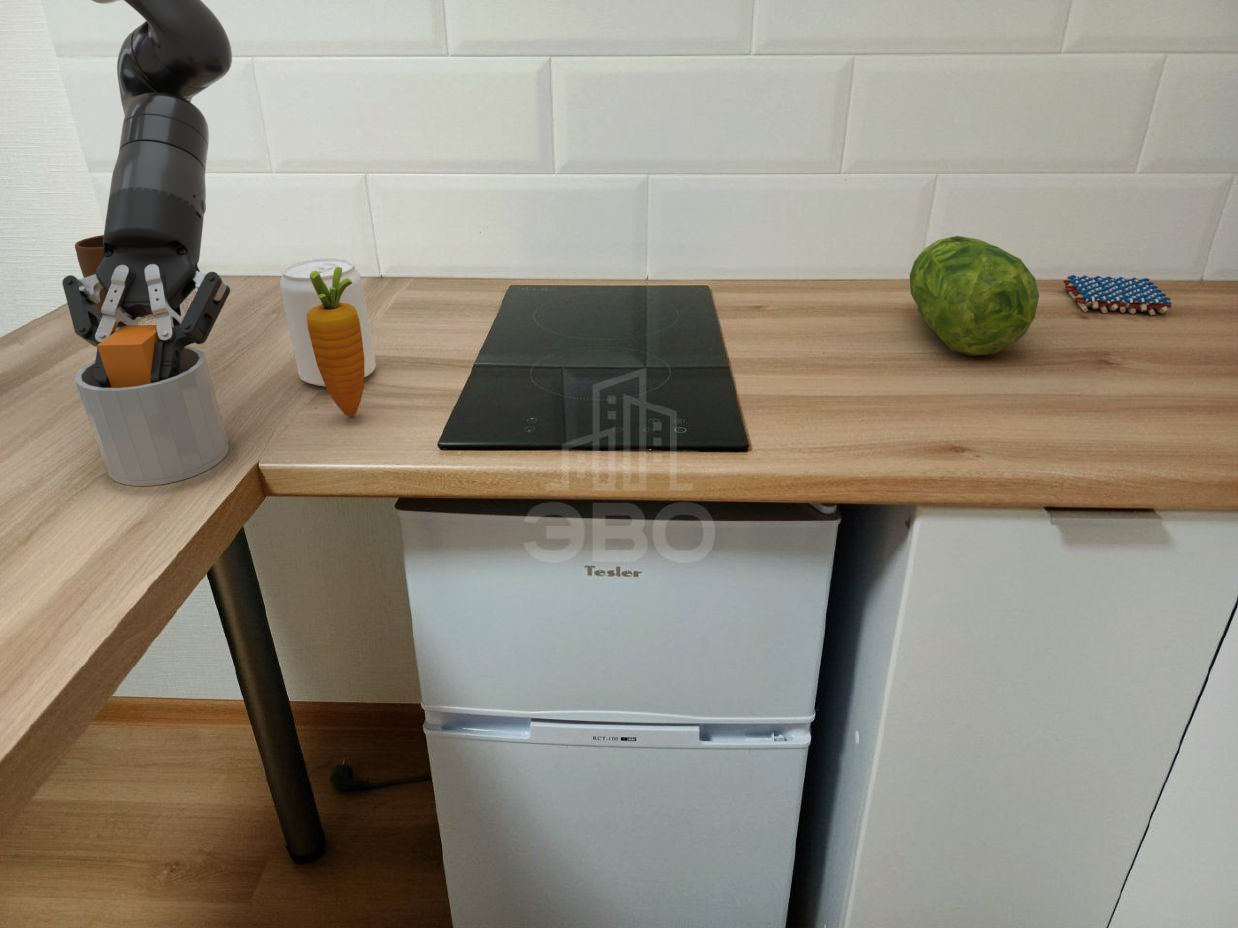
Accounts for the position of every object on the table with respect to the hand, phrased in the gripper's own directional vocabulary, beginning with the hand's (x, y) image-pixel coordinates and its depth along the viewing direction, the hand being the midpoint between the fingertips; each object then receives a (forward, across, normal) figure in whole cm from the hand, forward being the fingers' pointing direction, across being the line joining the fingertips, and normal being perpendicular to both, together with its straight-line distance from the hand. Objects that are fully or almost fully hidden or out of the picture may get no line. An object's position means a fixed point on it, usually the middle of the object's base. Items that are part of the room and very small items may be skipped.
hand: (135, 387), depth 72 cm
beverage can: (-8, +11, +20) cm, 24 cm away
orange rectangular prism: (+3, 0, +6) cm, 6 cm away
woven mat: (-21, +106, +33) cm, 113 cm away
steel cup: (+4, 0, +7) cm, 8 cm away
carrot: (-1, +14, +12) cm, 19 cm away
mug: (-27, -24, +38) cm, 52 cm away
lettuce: (-14, +82, +26) cm, 87 cm away
